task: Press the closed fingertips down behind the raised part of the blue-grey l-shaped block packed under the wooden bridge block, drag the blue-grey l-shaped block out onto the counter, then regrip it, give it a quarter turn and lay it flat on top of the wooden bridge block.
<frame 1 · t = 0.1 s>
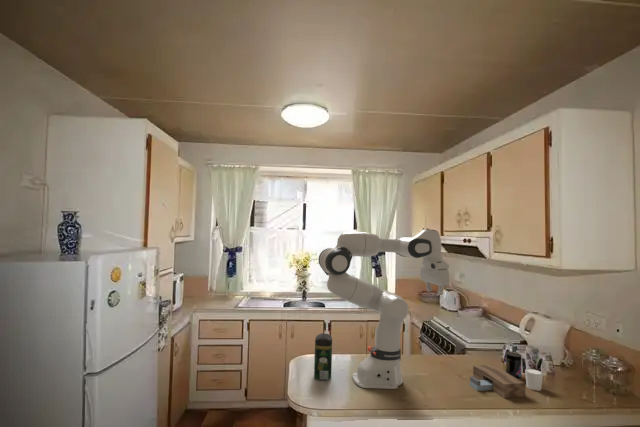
hand: (434, 292, 164), 39 cm above the counter, tool pointing down, fingers open, 8 cm apart
supplement container: (513, 376, 166), on the counter
blue-grey l-shaped block: (485, 388, 153), on the counter
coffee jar: (322, 377, 158), on the counter
wooden bridge block: (497, 386, 154), on the counter
shot glass: (533, 388, 155), on the counter
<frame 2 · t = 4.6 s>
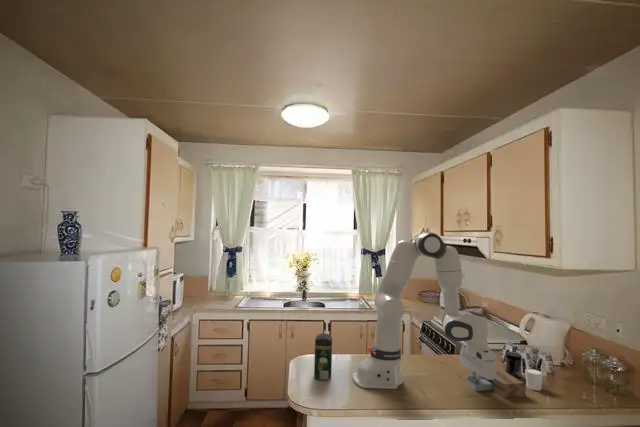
hand: (476, 381, 152), 3 cm above the counter, tool pointing down, fingers closed, pressing on blue-grey l-shaped block
blue-grey l-shaped block: (483, 387, 153), on the counter, touching gripper
everything else where it was.
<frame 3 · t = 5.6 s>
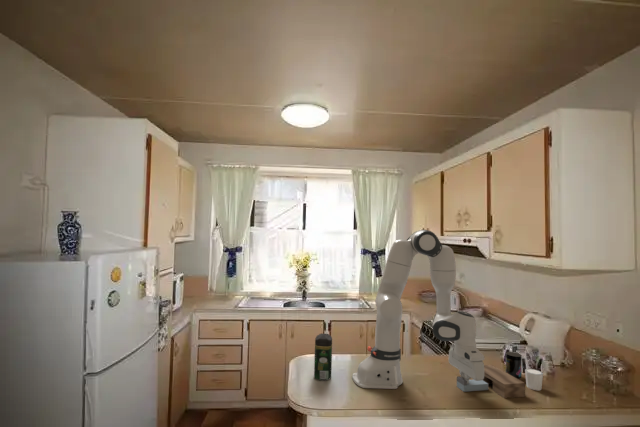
hand: (465, 382, 151), 3 cm above the counter, tool pointing down, fingers closed, pressing on blue-grey l-shaped block
blue-grey l-shaped block: (472, 388, 152), on the counter, touching gripper
everything else where it was.
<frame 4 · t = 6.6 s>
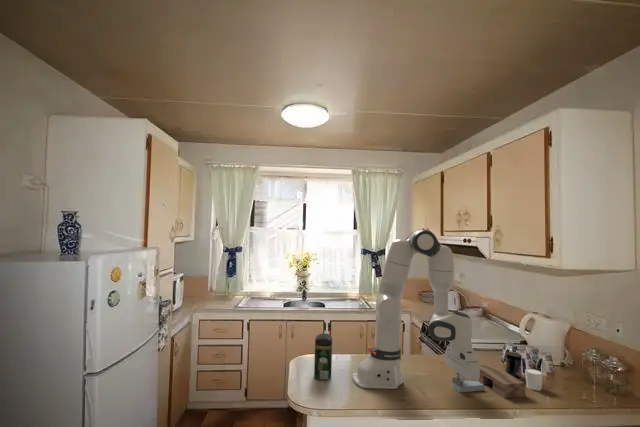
hand: (460, 383, 151), 3 cm above the counter, tool pointing down, fingers closed
blue-grey l-shaped block: (467, 389, 151), on the counter, touching gripper
everything else where it was.
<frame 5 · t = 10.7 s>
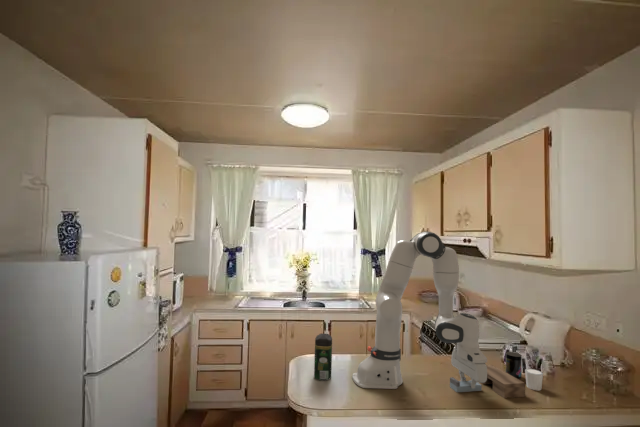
hand: (467, 384, 151), 2 cm above the counter, tool pointing down, fingers closed on blue-grey l-shaped block, 5 cm apart
blue-grey l-shaped block: (465, 389, 151), on the counter, touching gripper
everything else where it was.
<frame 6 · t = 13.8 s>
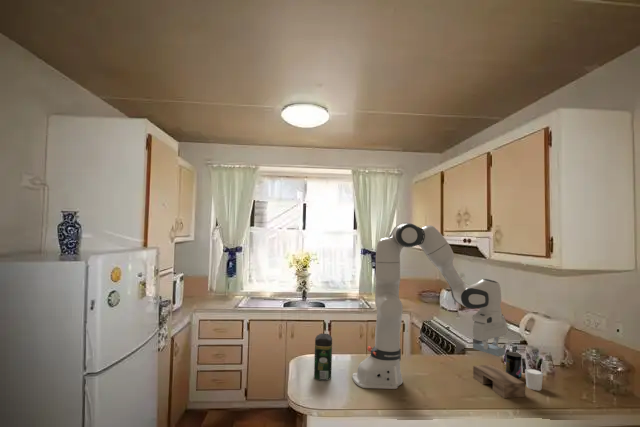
hand: (490, 347, 154), 17 cm above the counter, tool pointing down, fingers closed on blue-grey l-shaped block, 5 cm apart
blue-grey l-shaped block: (488, 351, 155), point 15 cm above the counter, touching gripper
everything else where it was.
when the fingers open (8 cm above the counter, at t = 16.1 s): blue-grey l-shaped block stays where it is, resting on wooden bridge block.
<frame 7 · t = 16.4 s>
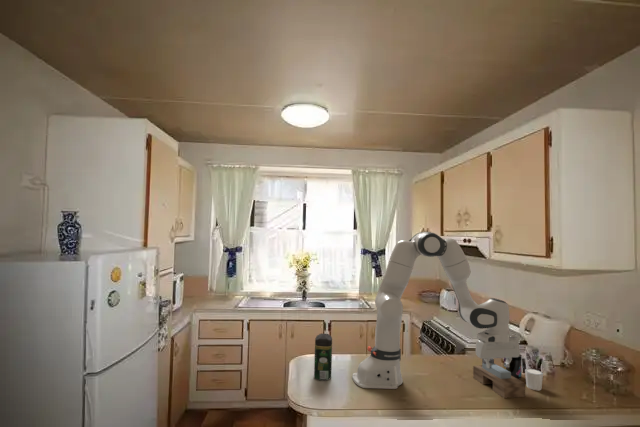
hand: (497, 367, 155), 8 cm above the counter, tool pointing down, fingers open, 8 cm apart
blue-grey l-shaped block: (496, 372, 156), point 5 cm above the counter, touching wooden bridge block
everything else where it was.
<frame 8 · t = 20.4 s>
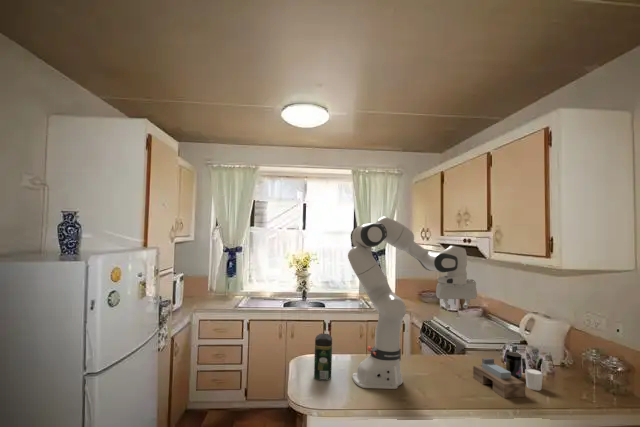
hand: (456, 308, 168), 31 cm above the counter, tool pointing down, fingers open, 8 cm apart
nothing on the counter moved.
at the end: blue-grey l-shaped block inside the target area (1.0 cm from its centre), point 5.5 cm above the counter; blue-grey l-shaped block tilted 0°; the gripper is holding nothing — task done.
